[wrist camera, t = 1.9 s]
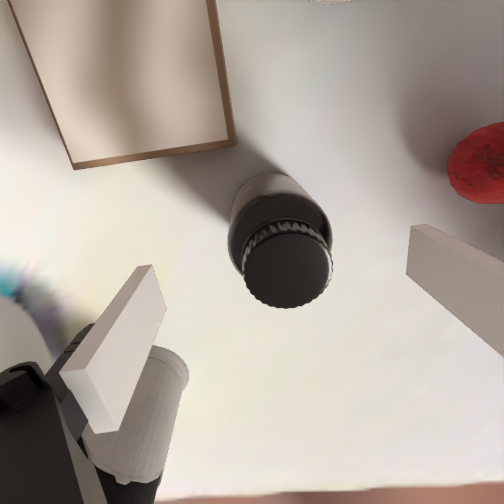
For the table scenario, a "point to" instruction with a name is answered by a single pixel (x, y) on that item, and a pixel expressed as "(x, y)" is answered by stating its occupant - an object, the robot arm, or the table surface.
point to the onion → (479, 165)
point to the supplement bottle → (280, 241)
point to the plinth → (130, 76)
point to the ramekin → (329, 1)
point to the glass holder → (141, 433)
